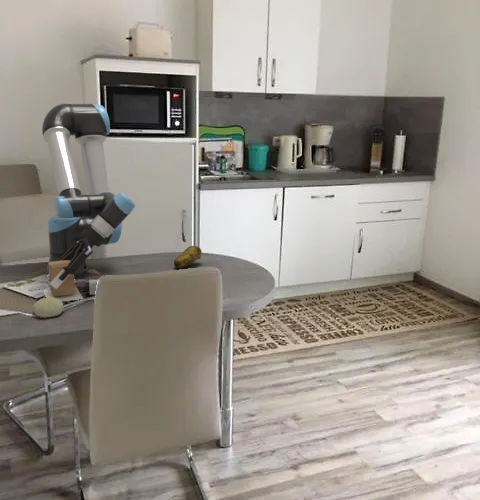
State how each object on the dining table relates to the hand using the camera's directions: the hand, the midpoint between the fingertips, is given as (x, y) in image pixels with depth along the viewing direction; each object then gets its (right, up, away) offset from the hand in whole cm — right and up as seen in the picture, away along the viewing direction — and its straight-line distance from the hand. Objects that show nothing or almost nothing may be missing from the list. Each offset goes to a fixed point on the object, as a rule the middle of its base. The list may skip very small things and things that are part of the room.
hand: (51, 282), depth 188 cm
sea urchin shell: (+3, -9, -10) cm, 14 cm away
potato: (+42, +4, +40) cm, 58 cm away
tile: (+3, -5, +3) cm, 7 cm away
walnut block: (+3, -3, +2) cm, 5 cm away
